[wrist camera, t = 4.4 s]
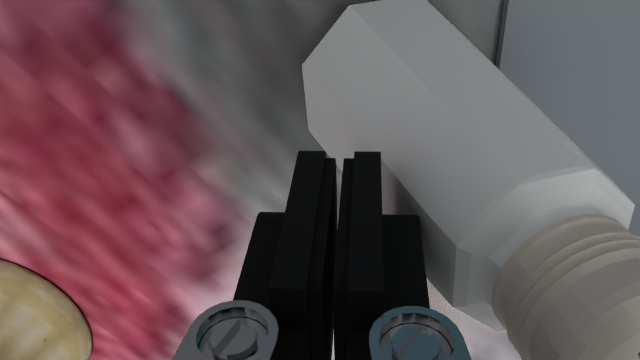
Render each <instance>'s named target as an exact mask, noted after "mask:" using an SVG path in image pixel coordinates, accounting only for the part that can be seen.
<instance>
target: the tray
mask: <svg viewBox="0 0 640 360" xmlns="http://www.w3.org/2000/svg"><path fill="white" fill-rule="evenodd" d="M495 66H496V67H497V68H498V69H499V70H500V71H501V72H502V73H503V74H504V75H505V76H506V77H507V78H508V79H509V80H510V81H511V82H512V83H513V84H514V85H515V86H516V87H517V88H518V89H520V90H521V91H522V92H523V93H524V94H525V95H526V96H527V97H528V98H529V99H530V100H531V101H532V102H533V103H534V104H535V105H536V106H537V107H538V108H539V109H540V110H541V111H542V112H543V113H544V114H545V115H546V116H547V117H548V118H549V119H550V120H551V121H552V122H553V123H554V124H555V125H556V126H557V127H559V128H560V129H561V130H562V131H563V132H564V133H565V134H566V135H567V136H568V137H569V138H570V139H571V140H572V141H573V142H574V143H575V144H576V145H577V146H578V147H579V148H580V149H581V150H582V151H583V152H584V153H585V154H586V155H587V156H588V157H589V158H590V159H591V160H592V161H593V162H594V163H595V164H596V165H597V166H599V167H600V168H601V169H602V170H603V171H604V172H605V173H606V174H607V175H608V176H609V177H610V178H611V179H612V180H613V181H614V182H615V184H616V185H617V186H618V187H619V188H620V189H621V190H622V191H623V192H624V193H625V194H626V195H627V196H628V198H629V199H630V200H631V201H632V202H633V203H634V205H635V207H634V211H633V214H632V218H631V221H630V225H629V228H628V230H629V231H630V233H631V234H632V235H635V236H638V237H640V0H504V4H503V11H502V19H501V26H500V33H499V41H498V48H497V56H496V63H495Z"/></svg>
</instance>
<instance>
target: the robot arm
mask: <svg viewBox="0 0 640 360" xmlns="http://www.w3.org/2000/svg"><path fill="white" fill-rule="evenodd" d="M333 330H334V351H335V360H471V357H470V354H469V352H468V349H467V346H466V344H465V341H464V338H463V336H462V334H461V332H460V331H459V329H458V327H457V326H456V325H455V324H454V323H453V322H452V321H451V320H450V319H449V318H448V317H446V316H445V315H443V314H441V313H439V312H437V311H435V310H432V309H430V306H429V298H428V289H427V280H426V271H425V263H424V254H423V245H422V237H421V228H420V220H419V216H418V215H388V214H382V179H381V152H370V151H354V158H344V161H343V173H342V185H341V197H340V208H339V220H338V230H337V184H336V158H326V152H325V151H299V152H298V156H297V160H296V165H295V169H294V174H293V179H292V183H291V188H290V192H289V197H288V201H287V206H286V210H285V212H260V213H259V214H258V216H257V218H256V222H255V225H254V229H253V232H252V236H251V239H250V243H249V246H248V250H247V253H246V257H245V260H244V264H243V267H242V271H241V274H240V278H239V281H238V285H237V288H236V292H235V295H234V299H233V301H228V302H223V303H220V304H217V305H215V306H213V307H211V308H208V309H207V310H206V311H204V312H203V313H202V314H200V315H199V316H198V317H197V318H196V319H195V321H194V322H193V323H192V324H191V326H190V327H189V329H188V331H187V333H186V335H185V336H184V338H183V340H182V342H181V344H180V345H179V347H178V349H177V351H176V353H175V354H174V356H173V358H172V360H331V356H332V343H333Z"/></svg>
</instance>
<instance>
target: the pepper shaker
mask: <svg viewBox="0 0 640 360" xmlns="http://www.w3.org/2000/svg"><path fill="white" fill-rule="evenodd" d="M302 72H303V82H304V92H305V101H306V111H307V121H308V130H309V132H310V133H311V134H312V135H313V137H314V138H315V139H316V140H317V142H318V143H319V144H320V145H321V147H322V148H323V149H324V150H325V151H326V153H327V154H328V155H329V156H330V158H336V165H337V166H338V168H339V169H340V170H341V171H342V173H343V161H344V158H354V151H370V152H381V179H382V214H388V215H418V216H419V220H420V228H421V237H422V245H423V254H424V263H425V271H426V277H427V279H428V280H429V281H430V282H431V283H432V284H433V286H434V287H435V288H436V289H437V290H438V291H439V292H440V293H441V294H442V295H443V297H444V298H445V299H446V300H447V301H448V302H449V303H450V304H451V305H452V306H453V307H455V308H456V309H458V310H460V311H462V312H464V313H466V314H467V315H469V316H471V317H473V318H475V319H476V320H478V321H480V322H482V323H484V324H486V325H487V326H489V327H491V328H493V329H495V330H497V331H500V330H504V329H506V330H507V334H508V338H509V340H510V341H511V343H512V344H513V345H514V347H515V349H516V350H517V352H518V353H519V354H520V355H521V358H522V359H523V360H640V237H638V236H635V235H632V234H631V233H630V231H629V230H628V228H629V225H630V221H631V218H632V214H633V211H634V207H635V205H634V203H633V202H632V201H631V200H630V199H629V198H628V196H627V195H626V194H625V193H624V192H623V191H622V190H621V189H620V188H619V187H618V186H617V185H616V184H615V182H614V181H613V180H612V179H611V178H610V177H609V176H608V175H607V174H606V173H605V172H604V171H603V170H602V169H601V168H600V167H599V166H597V165H596V164H595V163H594V162H593V161H592V160H591V159H590V158H589V157H588V156H587V155H586V154H585V153H584V152H583V151H582V150H581V149H580V148H579V147H578V146H577V145H576V144H575V143H574V142H573V141H572V140H571V139H570V138H569V137H568V136H567V135H566V134H565V133H564V132H563V131H562V130H561V129H560V128H559V127H557V126H556V125H555V124H554V123H553V122H552V121H551V120H550V119H549V118H548V117H547V116H546V115H545V114H544V113H543V112H542V111H541V110H540V109H539V108H538V107H537V106H536V105H535V104H534V103H533V102H532V101H531V100H530V99H529V98H528V97H527V96H526V95H525V94H524V93H523V92H522V91H521V90H520V89H518V88H517V87H516V86H515V85H514V84H513V83H512V82H511V81H510V80H509V79H508V78H507V77H506V76H505V75H504V74H503V73H502V72H501V71H500V70H499V69H498V68H497V67H496V66H495V65H494V64H493V63H492V62H491V61H490V60H489V59H488V58H487V57H486V56H485V55H484V54H483V53H482V52H481V51H479V50H478V49H477V48H476V47H475V46H474V45H473V44H472V43H471V42H470V41H469V40H468V39H467V38H466V37H465V36H464V35H463V34H462V33H461V32H460V31H459V30H458V29H457V28H456V27H455V26H453V25H452V24H451V23H450V22H449V21H448V20H447V19H446V18H445V17H444V16H443V15H442V14H441V13H440V12H439V11H438V10H437V9H436V8H435V7H433V6H432V5H431V4H430V3H429V2H428V1H427V0H380V1H374V2H367V3H361V4H354V5H349V6H348V7H347V9H346V10H345V11H344V12H343V14H342V15H341V16H340V17H339V19H338V20H337V21H336V22H335V24H334V25H333V26H332V28H331V29H330V30H329V31H328V33H327V34H326V35H325V36H324V38H323V39H322V40H321V41H320V43H319V44H318V45H317V47H316V48H315V49H314V50H313V52H312V53H311V54H310V55H309V57H308V58H307V59H306V60H305V62H304V63H303V64H302Z"/></svg>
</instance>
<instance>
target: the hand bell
mask: <svg viewBox="0 0 640 360" xmlns="http://www.w3.org/2000/svg"><path fill="white" fill-rule="evenodd" d="M91 349H92V339H91V333H90V330H89V327H88V325H87V323H86V321H85V319H84V317H83V315H82V314H81V312H80V311H79V309H78V308H77V307H76V305H75V304H74V303H73V302H72V301H71V300H70V299H69V298H68V297H67V296H66V295H65V294H64V293H63V292H62V291H60V290H59V289H58V288H57V287H55V286H54V285H53V284H51V283H50V282H49V281H47V280H45V279H43V278H42V277H40V276H39V275H37V274H35V273H33V272H31V271H29V270H27V269H25V268H23V267H20V266H18V265H16V264H13V263H10V262H7V261H3V260H0V360H89V358H90V355H91Z"/></svg>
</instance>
